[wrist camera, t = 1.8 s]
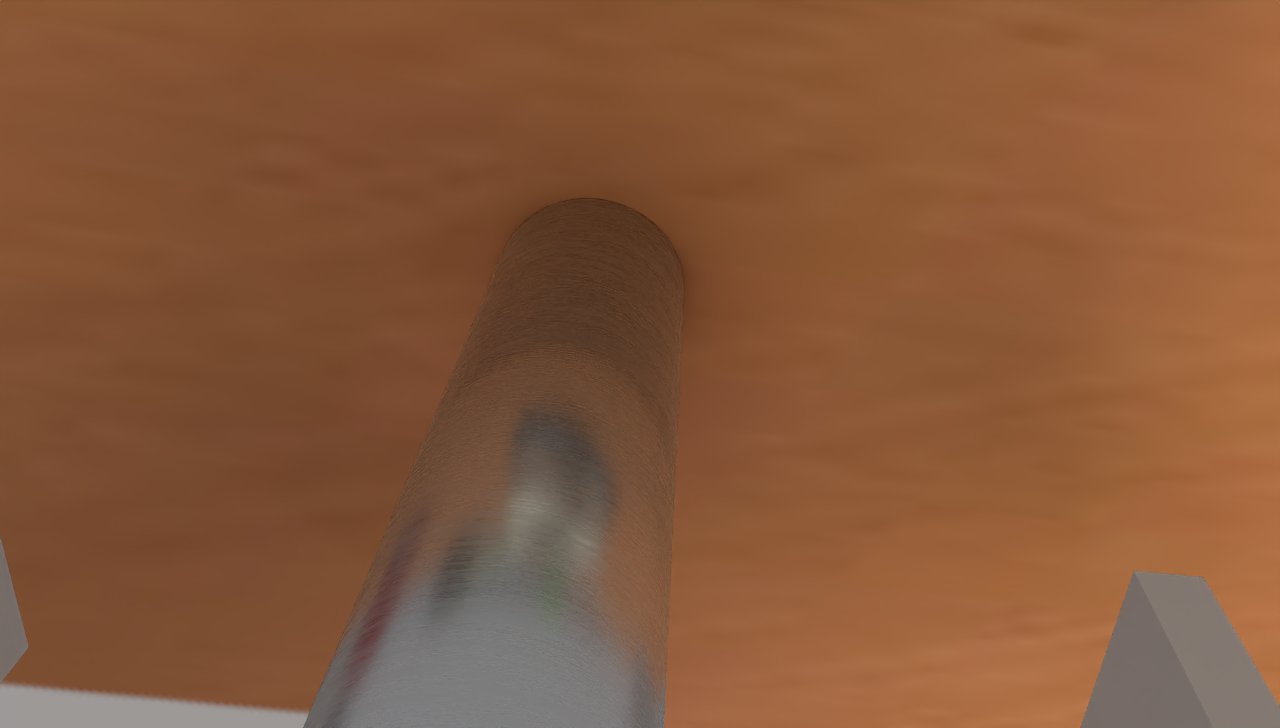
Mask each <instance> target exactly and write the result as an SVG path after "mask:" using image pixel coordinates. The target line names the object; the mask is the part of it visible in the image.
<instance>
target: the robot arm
mask: <svg viewBox="0 0 1280 728" xmlns="http://www.w3.org/2000/svg"><path fill="white" fill-rule="evenodd" d="M28 648H29V646H28V642H27V638H26V635H25V631H24V627H23V623H22V619H21V615H20V611H19V607H18V603H17V600H16V596H15V592H14V588H13V584H12V580H11V576H10V572H9V568H8V564H7V561H6V557H5V553H4V549H3V545H2V541H1V537H0V683H1V682H2V681H3V679H4V678H5V677H6V676H7V674H8V673H9V672H10V671H11V669H12V668H13V667H14V666H15V664H16V663H17V662H18V661H19V659H20V658H21V657H22V655H23V654H24V653H25V652H26V650H27V649H28ZM1081 728H1280V707H1279V705H1278V703H1277V701H1276V700H1275V698H1274V696H1273V695H1272V693H1271V691H1270V690H1269V688H1268V686H1267V684H1266V683H1265V681H1264V679H1263V678H1262V676H1261V674H1260V673H1259V671H1258V669H1257V667H1256V666H1255V664H1254V662H1253V661H1252V659H1251V657H1250V656H1249V654H1248V652H1247V650H1246V649H1245V647H1244V645H1243V644H1242V642H1241V640H1240V639H1239V637H1238V635H1237V633H1236V632H1235V630H1234V628H1233V627H1232V625H1231V623H1230V622H1229V620H1228V618H1227V616H1226V615H1225V613H1224V611H1223V610H1222V608H1221V606H1220V605H1219V603H1218V601H1217V599H1216V598H1215V596H1214V594H1213V593H1212V591H1211V589H1210V588H1209V586H1208V584H1207V582H1206V581H1205V579H1204V577H1196V576H1185V575H1174V574H1163V573H1152V572H1142V571H1134V572H1133V575H1132V578H1131V581H1130V584H1129V587H1128V590H1127V593H1126V595H1125V598H1124V601H1123V604H1122V607H1121V610H1120V613H1119V616H1118V619H1117V622H1116V625H1115V628H1114V631H1113V634H1112V637H1111V639H1110V642H1109V645H1108V648H1107V651H1106V654H1105V657H1104V660H1103V663H1102V666H1101V669H1100V672H1099V675H1098V678H1097V681H1096V684H1095V686H1094V689H1093V692H1092V695H1091V698H1090V701H1089V704H1088V707H1087V710H1086V713H1085V716H1084V719H1083V722H1082V725H1081Z"/></svg>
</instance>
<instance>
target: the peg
mask: <svg viewBox="0 0 1280 728" xmlns="http://www.w3.org/2000/svg"><path fill="white" fill-rule="evenodd" d="M683 302H684V280H683V272H682V269H681V265H680V261H679V259H678V257H677V254H676V252H675V250H674V248H673V247H672V245H671V243H670V242H669V240H668V239H667V238H666V236H665V235H664V234H663V233H662V231H661V230H660V229H659V228H658V227H657V226H656V225H655V224H654V223H652V222H651V221H650V220H648V219H647V218H646V217H644V216H643V215H642V214H640V213H638V212H636V211H634V210H633V209H631V208H628V207H626V206H623V205H621V204H618V203H614V202H611V201H607V200H599V199H574V200H567V201H563V202H559V203H556V204H553V205H550V206H548V207H545V208H544V209H542V210H540V211H538V212H536V213H535V214H533V215H532V216H531V217H529V218H528V219H527V220H525V221H524V222H523V223H522V224H521V225H520V226H519V227H518V228H517V229H516V231H515V232H514V233H513V235H512V236H511V237H510V239H509V241H508V242H507V244H506V246H505V248H504V250H503V253H502V255H501V257H500V260H499V262H498V265H497V267H496V269H495V272H494V274H493V276H492V279H491V281H490V284H489V286H488V288H487V291H486V293H485V296H484V298H483V300H482V303H481V305H480V307H479V310H478V312H477V315H476V317H475V319H474V322H473V324H472V327H471V329H470V331H469V334H468V336H467V338H466V341H465V343H464V346H463V348H462V350H461V353H460V355H459V358H458V360H457V362H456V365H455V367H454V369H453V372H452V374H451V377H450V379H449V381H448V384H447V386H446V389H445V391H444V393H443V396H442V398H441V400H440V403H439V405H438V408H437V410H436V412H435V415H434V417H433V419H432V422H431V424H430V427H429V429H428V431H427V434H426V436H425V439H424V441H423V443H422V446H421V448H420V450H419V453H418V455H417V458H416V460H415V462H414V465H413V467H412V470H411V472H410V474H409V477H408V479H407V481H406V484H405V486H404V489H403V491H402V493H401V496H400V498H399V501H398V503H397V505H396V508H395V510H394V512H393V515H392V517H391V520H390V522H389V524H388V527H387V529H386V532H385V534H384V536H383V539H382V541H381V543H380V546H379V548H378V551H377V553H376V555H375V558H374V560H373V563H372V565H371V567H370V570H369V572H368V574H367V577H366V579H365V582H364V584H363V586H362V589H361V591H360V594H359V596H358V598H357V601H356V603H355V605H354V608H353V610H352V613H351V615H350V617H349V620H348V622H347V625H346V627H345V629H344V632H343V634H342V636H341V639H340V641H339V644H338V646H337V648H336V651H335V653H334V656H333V658H332V660H331V663H330V665H329V667H328V670H327V672H326V675H325V677H324V679H323V682H322V684H321V687H320V689H319V691H318V694H317V696H316V698H315V701H314V703H313V706H312V708H311V710H310V713H309V715H308V718H307V720H306V722H305V725H304V727H303V728H664V715H665V693H666V671H667V649H668V628H669V606H670V584H671V563H672V541H673V519H674V497H675V476H676V454H677V432H678V410H679V389H680V367H681V345H682V323H683Z"/></svg>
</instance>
